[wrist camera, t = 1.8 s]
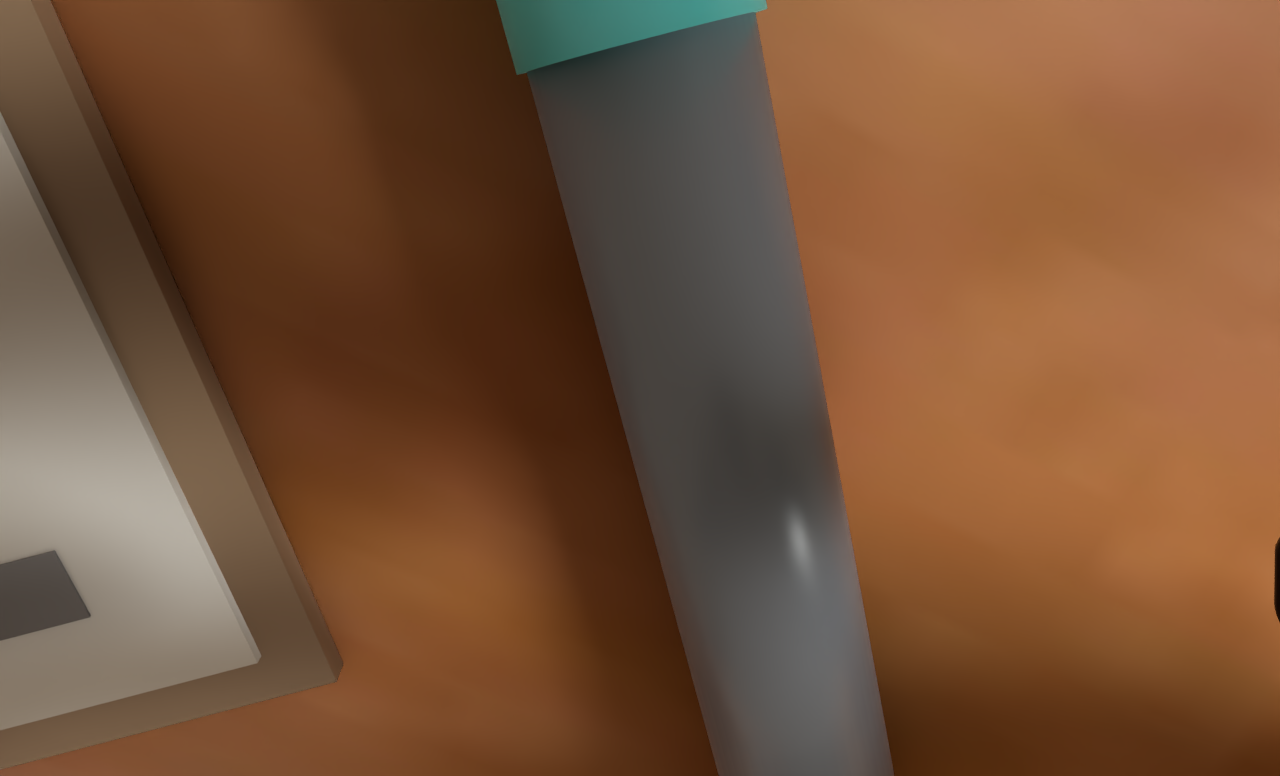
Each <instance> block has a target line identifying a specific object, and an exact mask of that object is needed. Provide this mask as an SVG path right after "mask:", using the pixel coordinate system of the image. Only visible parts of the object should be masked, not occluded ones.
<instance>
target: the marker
mask: <svg viewBox="0 0 1280 776" xmlns="http://www.w3.org/2000/svg"><path fill="white" fill-rule="evenodd" d="M496 2H497V6H498V9H499V13H500V16H501V20H502V24H503V27H504V31H505V35H506V38H507V42H508V45H509V49H510V53H511V56H512V60H513V63H514V67H515V71H516V74H517V75H518V74H524V73H527V76H528V79H529V83H530V87H531V90H532V94H533V98H534V101H535V105H536V109H537V112H538V116H539V120H540V123H541V127H542V131H543V134H544V138H545V142H546V145H547V149H548V153H549V156H550V160H551V163H552V167H553V171H554V174H555V178H556V182H557V185H558V189H559V193H560V196H561V200H562V204H563V207H564V211H565V215H566V218H567V222H568V226H569V229H570V233H571V237H572V240H573V244H574V248H575V251H576V255H577V259H578V262H579V266H580V270H581V273H582V277H583V281H584V284H585V288H586V292H587V295H588V299H589V303H590V306H591V310H592V314H593V317H594V321H595V325H596V328H597V332H598V336H599V339H600V343H601V346H602V350H603V354H604V357H605V361H606V365H607V368H608V372H609V376H610V379H611V383H612V387H613V390H614V394H615V398H616V401H617V405H618V409H619V412H620V416H621V420H622V423H623V427H624V431H625V434H626V438H627V442H628V445H629V449H630V453H631V456H632V460H633V464H634V467H635V471H636V475H637V478H638V482H639V486H640V489H641V493H642V497H643V500H644V504H645V508H646V511H647V515H648V518H649V522H650V526H651V529H652V533H653V537H654V540H655V544H656V548H657V551H658V555H659V559H660V562H661V566H662V570H663V573H664V577H665V581H666V584H667V588H668V592H669V595H670V599H671V603H672V606H673V610H674V614H675V617H676V621H677V625H678V628H679V632H680V636H681V639H682V643H683V647H684V650H685V654H686V658H687V661H688V665H689V669H690V672H691V676H692V680H693V683H694V687H695V690H696V694H697V698H698V701H699V705H700V709H701V712H702V716H703V720H704V723H705V727H706V731H707V734H708V738H709V742H710V745H711V749H712V753H713V756H714V760H715V764H716V767H717V771H718V775H719V776H894V770H893V765H892V759H891V754H890V748H889V743H888V737H887V732H886V726H885V721H884V715H883V710H882V705H881V699H880V694H879V688H878V683H877V677H876V672H875V666H874V661H873V655H872V650H871V644H870V639H869V633H868V628H867V622H866V617H865V611H864V606H863V600H862V595H861V589H860V584H859V578H858V573H857V567H856V562H855V556H854V551H853V545H852V540H851V534H850V529H849V524H848V518H847V513H846V507H845V502H844V496H843V491H842V485H841V480H840V474H839V469H838V463H837V458H836V452H835V447H834V441H833V436H832V430H831V425H830V419H829V414H828V408H827V403H826V397H825V392H824V386H823V381H822V375H821V370H820V364H819V359H818V353H817V348H816V343H815V337H814V332H813V326H812V321H811V315H810V310H809V304H808V299H807V293H806V288H805V282H804V277H803V271H802V266H801V260H800V255H799V249H798V244H797V238H796V233H795V227H794V222H793V216H792V211H791V205H790V200H789V194H788V189H787V183H786V178H785V173H784V167H783V162H782V156H781V151H780V145H779V140H778V134H777V129H776V123H775V118H774V112H773V107H772V101H771V96H770V90H769V85H768V79H767V74H766V68H765V63H764V57H763V52H762V46H761V41H760V35H759V30H758V24H757V19H756V12H759V11H762V10H765V9H767V3H766V0H496Z"/></svg>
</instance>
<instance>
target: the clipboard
mask: <svg viewBox="0 0 1280 776" xmlns="http://www.w3.org/2000/svg"><path fill="white" fill-rule="evenodd" d="M342 666H343V661H342V659H341V657H340V655H339V652H338V650H337V648H336V646H335V643H334V641H333V639H332V636H331V634H330V632H329V630H328V627H327V625H326V623H325V621H324V618H323V616H322V614H321V612H320V609H319V607H318V605H317V603H316V600H315V598H314V596H313V593H312V591H311V589H310V587H309V584H308V582H307V580H306V578H305V575H304V573H303V571H302V569H301V566H300V564H299V562H298V560H297V557H296V555H295V553H294V550H293V548H292V546H291V544H290V541H289V539H288V537H287V535H286V532H285V530H284V528H283V526H282V523H281V521H280V519H279V517H278V514H277V512H276V510H275V507H274V505H273V503H272V501H271V498H270V496H269V494H268V492H267V489H266V487H265V485H264V483H263V480H262V478H261V476H260V474H259V471H258V469H257V467H256V464H255V462H254V460H253V458H252V455H251V453H250V451H249V449H248V446H247V444H246V442H245V440H244V437H243V435H242V433H241V430H240V428H239V426H238V424H237V421H236V419H235V417H234V415H233V412H232V410H231V408H230V406H229V403H228V401H227V399H226V397H225V394H224V392H223V390H222V387H221V385H220V383H219V381H218V378H217V376H216V374H215V372H214V369H213V367H212V365H211V363H210V360H209V358H208V356H207V354H206V351H205V349H204V347H203V344H202V342H201V340H200V338H199V335H198V333H197V331H196V329H195V326H194V324H193V322H192V320H191V317H190V315H189V313H188V311H187V308H186V306H185V304H184V301H183V299H182V297H181V295H180V292H179V290H178V288H177V286H176V283H175V281H174V279H173V277H172V274H171V272H170V270H169V268H168V265H167V263H166V261H165V258H164V256H163V254H162V252H161V249H160V247H159V245H158V243H157V240H156V238H155V236H154V234H153V231H152V229H151V227H150V225H149V222H148V220H147V218H146V215H145V213H144V211H143V209H142V206H141V204H140V202H139V200H138V197H137V195H136V193H135V191H134V188H133V186H132V184H131V182H130V179H129V177H128V175H127V172H126V170H125V168H124V166H123V163H122V161H121V159H120V157H119V154H118V152H117V150H116V148H115V145H114V143H113V141H112V139H111V136H110V134H109V132H108V129H107V127H106V125H105V123H104V120H103V118H102V116H101V114H100V111H99V109H98V107H97V105H96V102H95V100H94V98H93V96H92V93H91V91H90V89H89V86H88V84H87V82H86V80H85V77H84V75H83V73H82V71H81V68H80V66H79V64H78V62H77V59H76V57H75V55H74V53H73V50H72V48H71V46H70V43H69V41H68V39H67V37H66V34H65V32H64V30H63V28H62V25H61V23H60V21H59V19H58V16H57V14H56V12H55V9H54V7H53V5H52V3H51V0H0V770H1V769H5V768H9V767H13V766H16V765H20V764H24V763H28V762H32V761H35V760H39V759H43V758H47V757H51V756H55V755H58V754H62V753H66V752H70V751H74V750H78V749H81V748H85V747H89V746H93V745H97V744H100V743H104V742H108V741H112V740H116V739H120V738H123V737H127V736H131V735H135V734H139V733H143V732H146V731H150V730H154V729H158V728H162V727H165V726H169V725H173V724H177V723H181V722H185V721H188V720H192V719H196V718H200V717H204V716H208V715H211V714H215V713H219V712H223V711H227V710H231V709H234V708H238V707H242V706H246V705H250V704H253V703H257V702H261V701H265V700H269V699H273V698H276V697H280V696H284V695H288V694H292V693H296V692H299V691H303V690H307V689H311V688H315V687H318V686H322V685H326V684H330V683H334V682H337V680H338V677H339V674H340V672H341V669H342Z"/></svg>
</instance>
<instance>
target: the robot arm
mask: <svg viewBox="0 0 1280 776" xmlns="http://www.w3.org/2000/svg"><path fill="white" fill-rule="evenodd" d="M1274 605H1275V610H1276V614H1277V617H1278V619H1279V622H1280V538H1279V539H1278V541H1277V543H1276V546H1275V588H1274Z"/></svg>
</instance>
